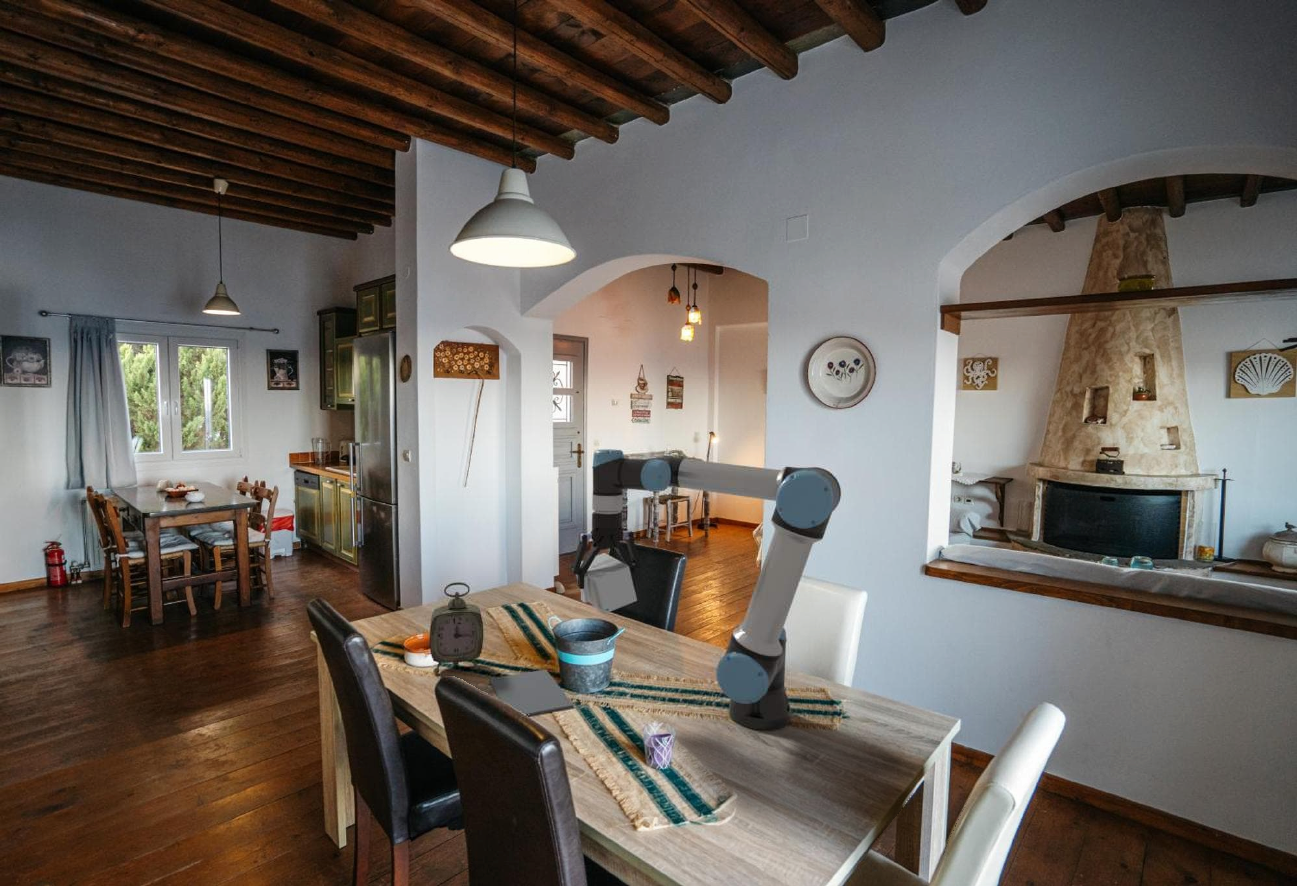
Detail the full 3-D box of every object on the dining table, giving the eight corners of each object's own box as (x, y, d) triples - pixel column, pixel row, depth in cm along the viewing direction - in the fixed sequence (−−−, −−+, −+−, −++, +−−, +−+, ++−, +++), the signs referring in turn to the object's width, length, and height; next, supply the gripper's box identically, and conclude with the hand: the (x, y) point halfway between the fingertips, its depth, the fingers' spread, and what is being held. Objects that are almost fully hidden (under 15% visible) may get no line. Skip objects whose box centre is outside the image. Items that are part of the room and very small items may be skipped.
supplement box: (613, 585, 170) (638, 602, 154) (581, 597, 166) (604, 616, 151) (604, 551, 168) (629, 565, 153) (572, 563, 165) (594, 578, 149)
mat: (573, 707, 160) (573, 704, 160) (510, 718, 153) (510, 716, 153) (545, 671, 181) (545, 669, 181) (489, 680, 174) (489, 678, 174)
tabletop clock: (429, 677, 175) (430, 587, 174) (429, 664, 184) (430, 579, 183) (483, 671, 180) (484, 584, 179) (481, 659, 189) (482, 576, 187)
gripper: (643, 507, 166) (641, 590, 167) (557, 511, 156) (556, 599, 157) (655, 511, 160) (654, 597, 160) (567, 516, 150) (566, 608, 150)
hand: (605, 598), depth 159 cm, fingers closed on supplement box, 11 cm apart
